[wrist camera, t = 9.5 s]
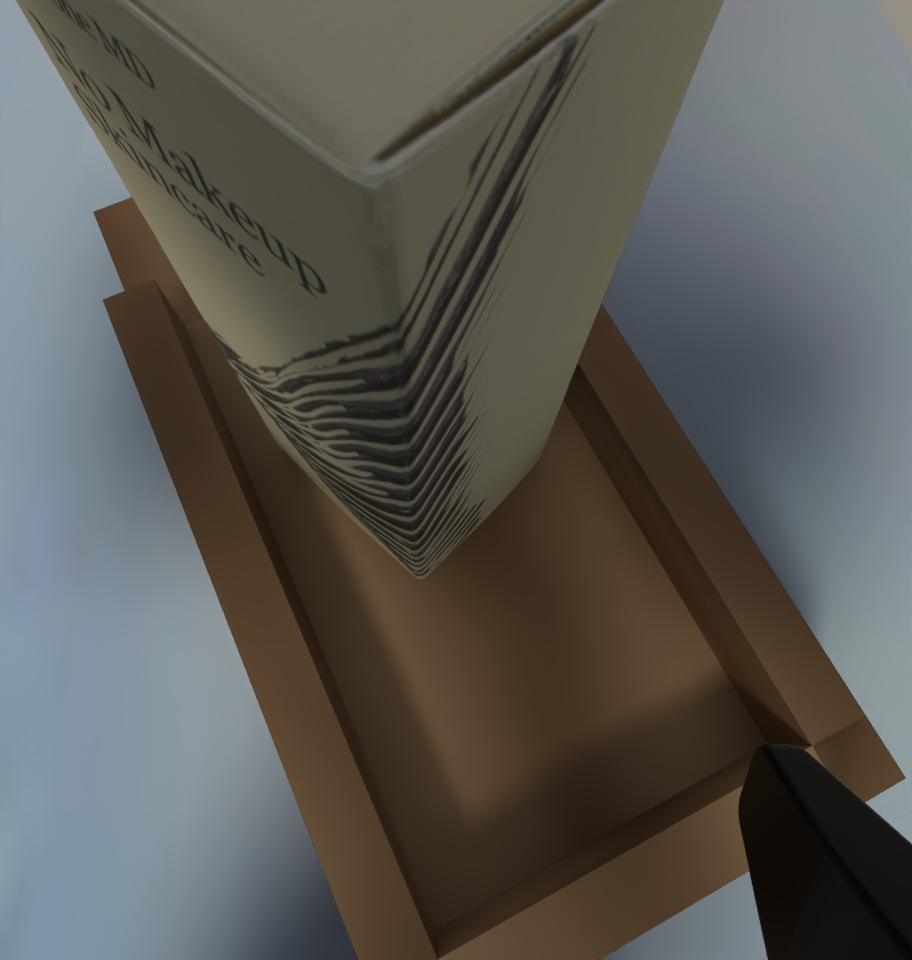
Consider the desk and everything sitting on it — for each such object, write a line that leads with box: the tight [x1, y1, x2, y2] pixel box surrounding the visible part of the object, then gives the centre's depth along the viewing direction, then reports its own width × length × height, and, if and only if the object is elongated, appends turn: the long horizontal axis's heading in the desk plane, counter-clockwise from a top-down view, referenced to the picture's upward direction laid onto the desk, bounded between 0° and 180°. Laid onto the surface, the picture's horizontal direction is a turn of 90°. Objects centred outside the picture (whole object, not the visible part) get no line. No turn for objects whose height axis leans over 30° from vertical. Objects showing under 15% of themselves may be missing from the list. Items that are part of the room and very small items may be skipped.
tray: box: [94, 198, 905, 960], centre depth 17 cm, size 10×21×4 cm, turn 26°
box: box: [16, 0, 724, 579], centre depth 11 cm, size 5×4×13 cm
